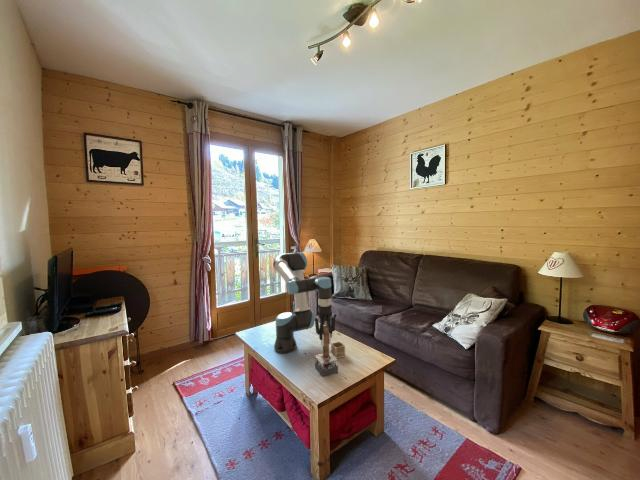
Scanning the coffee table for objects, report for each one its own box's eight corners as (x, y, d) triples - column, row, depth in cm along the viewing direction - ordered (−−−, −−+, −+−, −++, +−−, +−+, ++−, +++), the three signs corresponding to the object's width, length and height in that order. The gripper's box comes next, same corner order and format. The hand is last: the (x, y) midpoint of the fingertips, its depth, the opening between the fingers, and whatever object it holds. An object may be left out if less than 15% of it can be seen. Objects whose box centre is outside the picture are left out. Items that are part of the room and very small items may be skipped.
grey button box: (315, 367, 160) (314, 355, 160) (330, 363, 164) (330, 351, 164) (321, 377, 151) (321, 364, 150) (337, 372, 155) (337, 359, 154)
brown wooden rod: (322, 356, 158) (321, 326, 156) (327, 354, 159) (326, 325, 157) (324, 359, 154) (323, 328, 152) (330, 357, 156) (329, 327, 154)
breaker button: (322, 362, 158) (322, 359, 158) (327, 361, 159) (327, 358, 159) (324, 365, 155) (324, 361, 155) (329, 363, 157) (329, 360, 156)
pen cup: (331, 353, 176) (331, 343, 175) (340, 351, 179) (340, 341, 178) (335, 358, 170) (335, 348, 169) (345, 356, 173) (345, 345, 172)
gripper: (313, 309, 147) (315, 350, 149) (340, 304, 153) (341, 343, 156) (308, 304, 154) (310, 344, 156) (334, 300, 160) (335, 338, 163)
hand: (325, 343), depth 156 cm, fingers closed on brown wooden rod, 3 cm apart
